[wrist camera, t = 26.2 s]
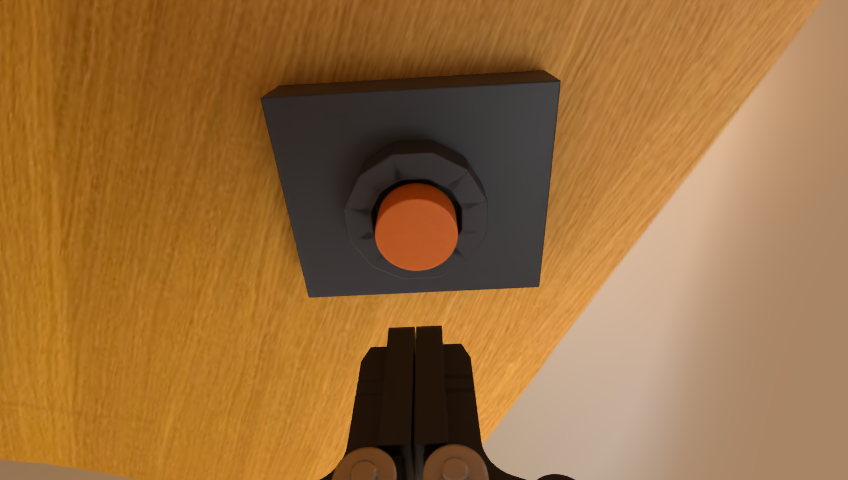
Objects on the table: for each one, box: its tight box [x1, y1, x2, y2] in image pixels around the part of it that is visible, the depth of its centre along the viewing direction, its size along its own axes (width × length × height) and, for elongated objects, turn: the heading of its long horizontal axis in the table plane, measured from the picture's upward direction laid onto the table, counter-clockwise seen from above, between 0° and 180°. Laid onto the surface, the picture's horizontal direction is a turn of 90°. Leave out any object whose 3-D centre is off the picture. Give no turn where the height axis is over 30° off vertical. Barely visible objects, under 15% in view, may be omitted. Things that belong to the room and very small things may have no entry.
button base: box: [261, 70, 560, 298], centre depth 21 cm, size 13×11×4 cm
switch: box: [375, 183, 458, 271], centre depth 19 cm, size 4×4×2 cm
